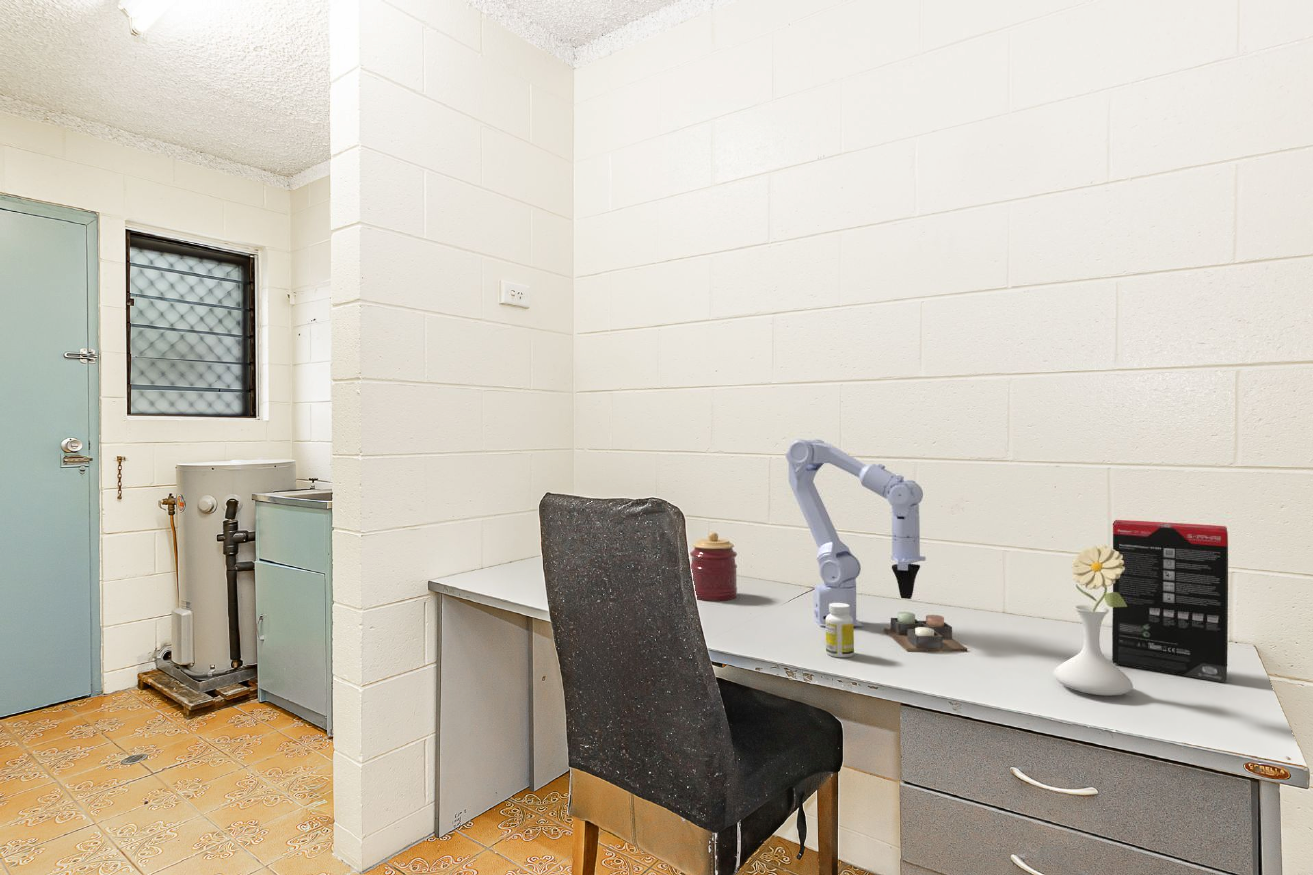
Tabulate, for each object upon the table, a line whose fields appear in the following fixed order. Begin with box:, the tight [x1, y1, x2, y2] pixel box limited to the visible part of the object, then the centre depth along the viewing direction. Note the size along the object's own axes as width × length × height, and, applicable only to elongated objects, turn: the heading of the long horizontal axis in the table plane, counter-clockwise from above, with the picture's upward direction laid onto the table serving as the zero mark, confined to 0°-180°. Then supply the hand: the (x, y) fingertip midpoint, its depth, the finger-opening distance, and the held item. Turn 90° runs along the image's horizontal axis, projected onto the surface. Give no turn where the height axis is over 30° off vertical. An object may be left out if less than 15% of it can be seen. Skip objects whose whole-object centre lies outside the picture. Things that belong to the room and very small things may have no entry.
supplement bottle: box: [825, 603, 855, 659], centre depth 136 cm, size 5×5×10 cm
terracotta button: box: [925, 614, 945, 627], centre depth 147 cm, size 4×4×3 cm
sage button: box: [897, 611, 916, 624], centre depth 149 cm, size 4×4×3 cm
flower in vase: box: [1053, 544, 1134, 697], centre depth 115 cm, size 13×11×25 cm
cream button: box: [915, 627, 934, 636], centre depth 140 cm, size 4×4×3 cm
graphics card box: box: [1111, 519, 1229, 683], centre depth 125 cm, size 17×7×27 cm, turn 53°
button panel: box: [883, 617, 968, 653], centre depth 145 cm, size 12×15×3 cm
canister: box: [689, 531, 738, 602], centre depth 188 cm, size 13×13×18 cm
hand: (906, 598), depth 149 cm, fingers closed
